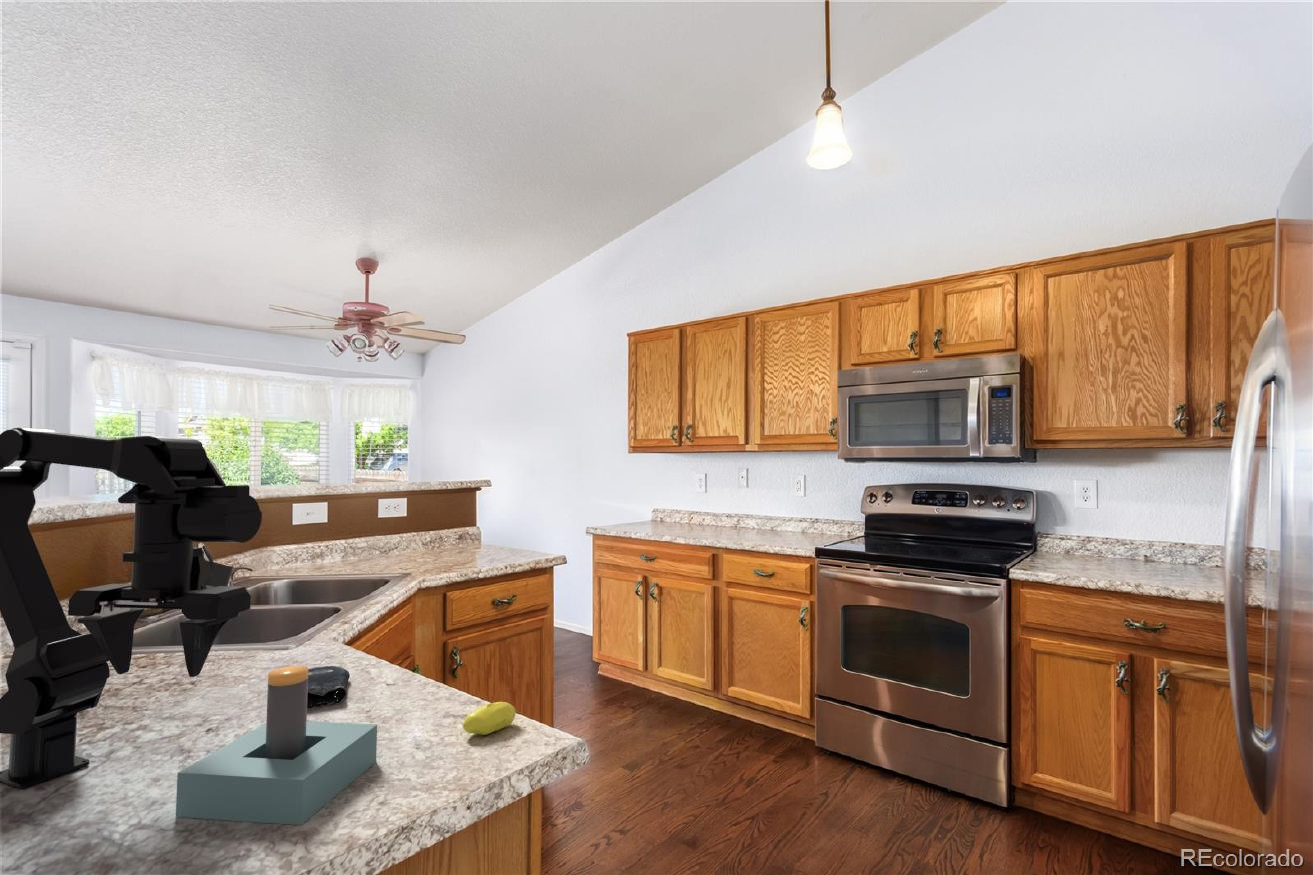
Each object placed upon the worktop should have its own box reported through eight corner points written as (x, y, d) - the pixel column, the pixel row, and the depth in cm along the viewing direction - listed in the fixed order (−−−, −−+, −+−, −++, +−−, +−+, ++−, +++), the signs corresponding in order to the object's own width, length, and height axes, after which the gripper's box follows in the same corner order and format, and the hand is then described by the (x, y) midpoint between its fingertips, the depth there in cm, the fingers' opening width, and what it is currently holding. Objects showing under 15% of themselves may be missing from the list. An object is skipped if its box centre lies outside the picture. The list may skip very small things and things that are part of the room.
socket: (175, 817, 65) (177, 772, 65) (271, 755, 79) (272, 719, 79) (301, 825, 64) (302, 779, 64) (376, 761, 78) (377, 724, 78)
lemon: (522, 728, 88) (522, 700, 88) (469, 745, 83) (469, 715, 83) (507, 719, 91) (508, 692, 91) (455, 735, 86) (455, 706, 86)
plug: (260, 786, 71) (264, 671, 72) (299, 775, 74) (303, 663, 75) (268, 799, 68) (272, 679, 69) (308, 787, 71) (312, 671, 72)
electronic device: (352, 713, 97) (349, 672, 110) (348, 680, 97) (346, 642, 110) (283, 732, 93) (289, 687, 106) (278, 698, 92) (285, 656, 105)
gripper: (284, 535, 81) (280, 657, 81) (153, 533, 83) (148, 652, 83) (215, 546, 70) (210, 686, 70) (67, 543, 72) (60, 680, 71)
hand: (158, 674), depth 74 cm, fingers open, 9 cm apart
